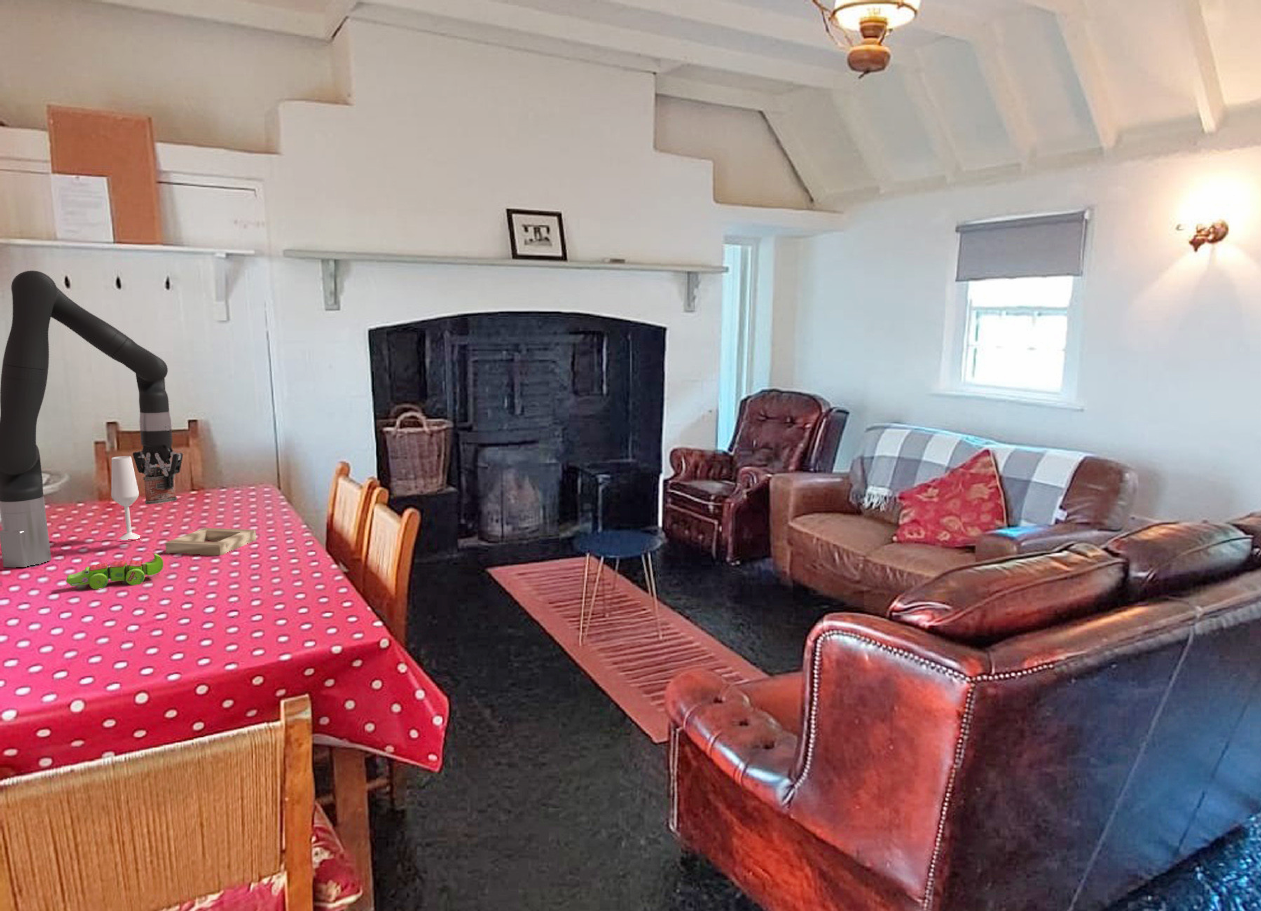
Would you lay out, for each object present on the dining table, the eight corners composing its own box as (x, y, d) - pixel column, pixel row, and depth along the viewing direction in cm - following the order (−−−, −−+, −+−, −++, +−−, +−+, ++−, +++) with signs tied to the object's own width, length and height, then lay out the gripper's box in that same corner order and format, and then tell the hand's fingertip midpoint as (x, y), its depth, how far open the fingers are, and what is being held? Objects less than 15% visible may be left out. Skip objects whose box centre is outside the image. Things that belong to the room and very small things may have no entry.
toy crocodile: (65, 594, 182) (62, 568, 181) (70, 586, 188) (67, 561, 187) (163, 582, 191) (161, 557, 190) (165, 574, 197) (163, 550, 196)
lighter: (148, 504, 218) (145, 469, 217) (143, 503, 220) (140, 467, 219) (179, 500, 224) (176, 465, 223) (173, 498, 226) (171, 464, 225)
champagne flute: (121, 543, 224) (113, 460, 221) (112, 539, 228) (103, 457, 225) (147, 538, 230) (139, 457, 226) (137, 534, 234) (129, 454, 230)
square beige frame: (220, 555, 212) (219, 544, 212) (166, 553, 214) (165, 542, 214) (256, 540, 228) (255, 529, 228) (205, 537, 230) (204, 528, 230)
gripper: (122, 428, 216) (127, 490, 219) (169, 430, 214) (174, 492, 217) (142, 425, 224) (147, 485, 226) (188, 427, 222) (192, 487, 224)
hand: (160, 488), depth 222 cm, fingers closed on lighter, 4 cm apart
